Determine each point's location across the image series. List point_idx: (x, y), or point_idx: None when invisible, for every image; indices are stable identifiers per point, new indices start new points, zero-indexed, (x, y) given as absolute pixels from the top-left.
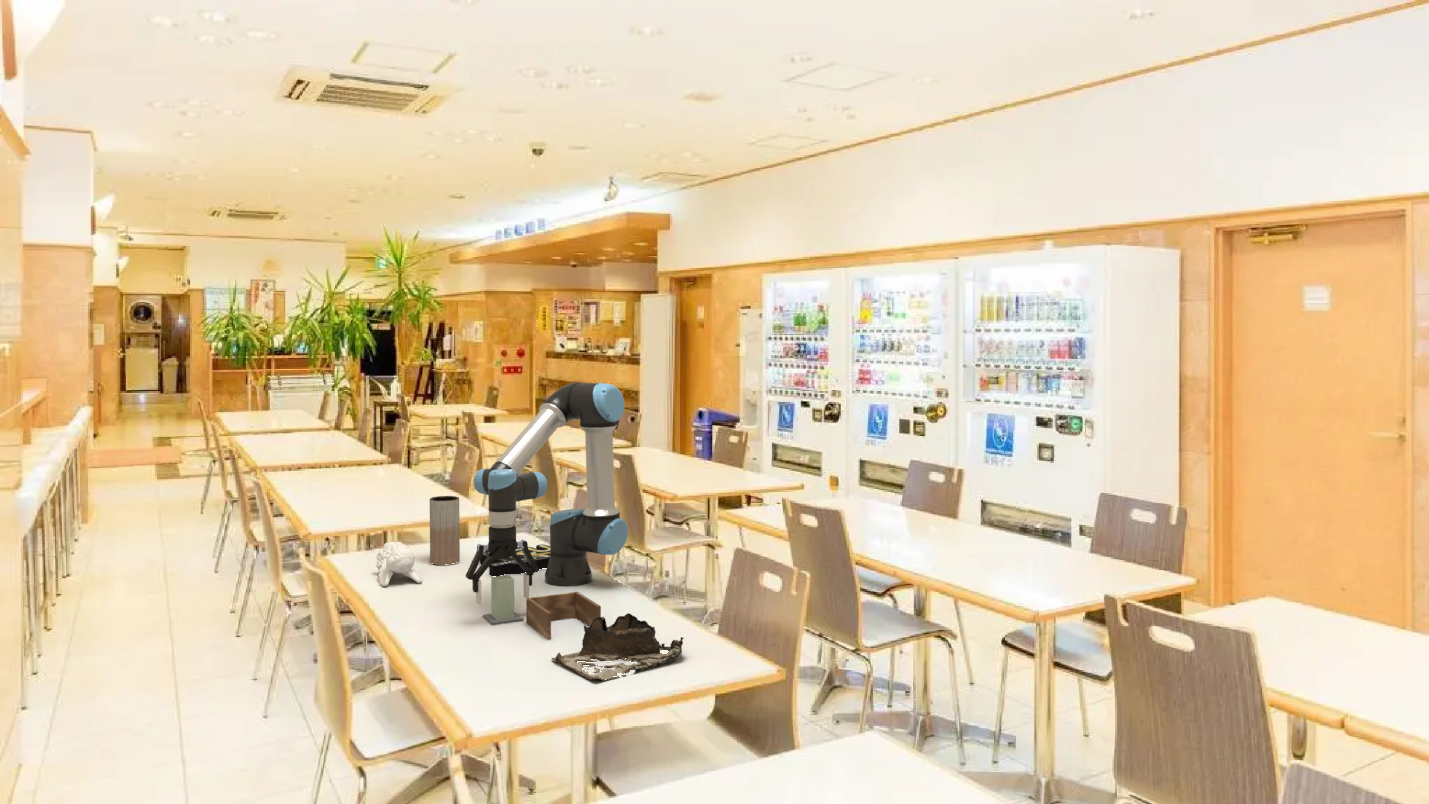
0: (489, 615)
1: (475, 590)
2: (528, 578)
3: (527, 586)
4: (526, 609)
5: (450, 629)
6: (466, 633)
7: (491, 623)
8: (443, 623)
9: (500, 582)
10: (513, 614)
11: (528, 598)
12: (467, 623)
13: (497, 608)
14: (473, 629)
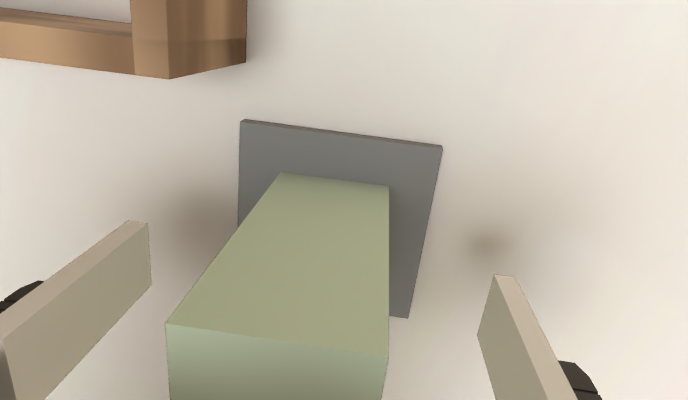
0: None
1: (575, 375)
2: (6, 315)
3: (77, 271)
4: (212, 67)
5: (680, 207)
6: (664, 70)
7: (440, 155)
8: (633, 326)
9: (342, 333)
10: (281, 179)
11: (154, 54)
12: (533, 256)
13: (384, 214)
14: (576, 128)
